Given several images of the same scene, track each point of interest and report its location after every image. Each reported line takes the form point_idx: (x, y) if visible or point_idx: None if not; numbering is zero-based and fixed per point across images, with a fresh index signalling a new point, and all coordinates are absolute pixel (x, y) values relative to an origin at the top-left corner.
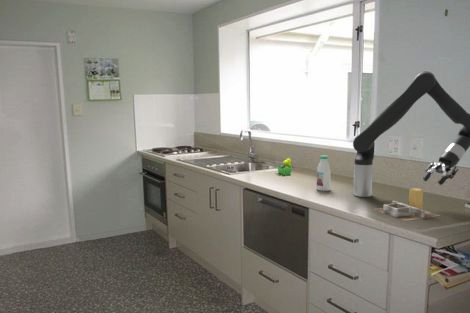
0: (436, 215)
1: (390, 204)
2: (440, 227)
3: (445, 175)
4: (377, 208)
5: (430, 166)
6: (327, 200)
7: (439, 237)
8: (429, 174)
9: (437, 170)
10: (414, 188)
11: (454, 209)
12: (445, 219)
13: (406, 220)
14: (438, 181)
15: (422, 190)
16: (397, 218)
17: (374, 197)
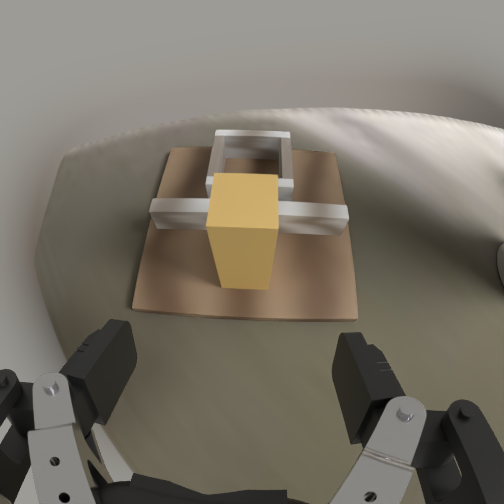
0: (143, 293)
1: (281, 149)
2: (84, 216)
3: (41, 377)
4: (337, 168)
5: (473, 499)
6: (458, 147)
7: (62, 163)
8: (359, 421)
9: (240, 492)
10: (276, 211)
11: None
12: (113, 309)
13: (171, 156)
14: (119, 321)
15: (207, 222)
16: (202, 147)
17: (494, 292)
